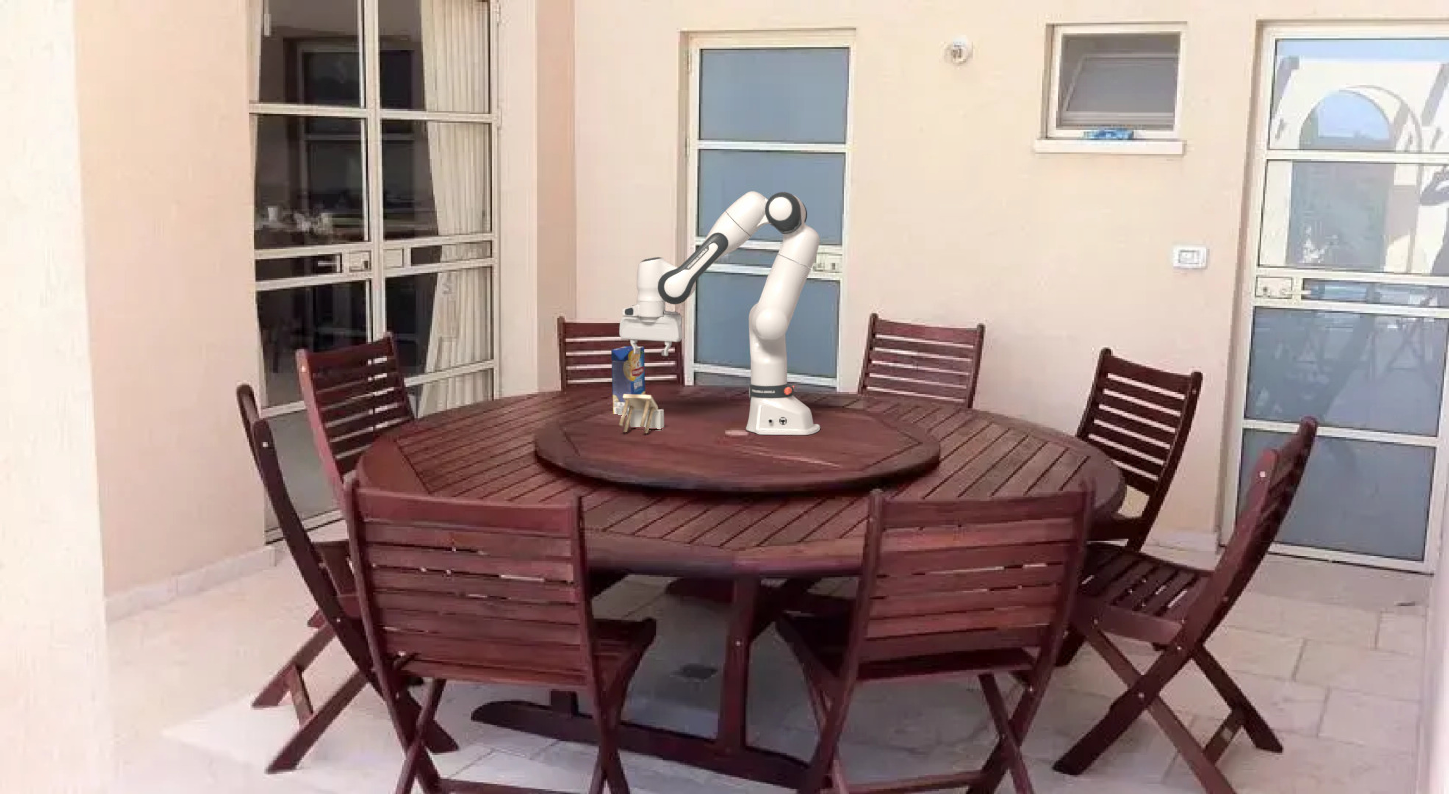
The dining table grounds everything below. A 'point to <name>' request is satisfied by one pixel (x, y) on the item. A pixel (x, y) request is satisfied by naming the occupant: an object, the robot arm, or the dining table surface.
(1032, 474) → the dining table surface
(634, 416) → the stone block
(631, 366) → the beverage box
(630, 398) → the stool
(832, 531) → the dining table surface
